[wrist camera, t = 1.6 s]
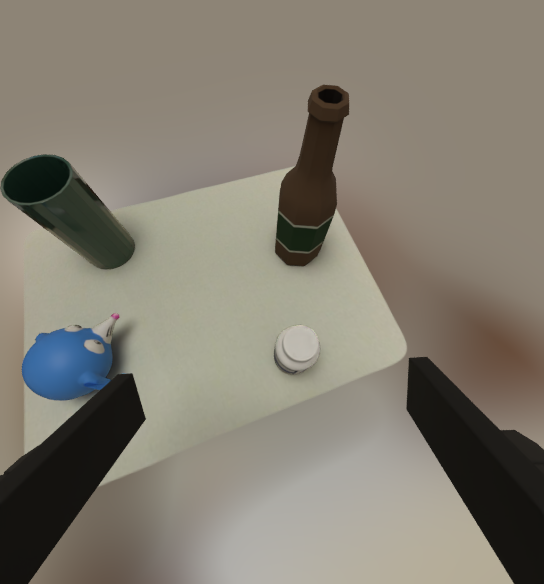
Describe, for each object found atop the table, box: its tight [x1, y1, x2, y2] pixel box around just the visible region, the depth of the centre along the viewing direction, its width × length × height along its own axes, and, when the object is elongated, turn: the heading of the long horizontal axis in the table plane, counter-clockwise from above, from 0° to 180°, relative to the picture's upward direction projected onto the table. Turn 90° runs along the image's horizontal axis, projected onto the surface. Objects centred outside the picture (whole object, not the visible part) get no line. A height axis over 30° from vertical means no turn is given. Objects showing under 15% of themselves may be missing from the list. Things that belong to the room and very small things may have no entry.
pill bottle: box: [274, 325, 320, 374], centre depth 32 cm, size 5×5×10 cm
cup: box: [0, 155, 135, 269], centre depth 35 cm, size 7×7×15 cm
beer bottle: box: [275, 85, 349, 266], centre depth 32 cm, size 8×8×24 cm
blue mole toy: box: [22, 313, 119, 400], centre depth 32 cm, size 12×12×8 cm
